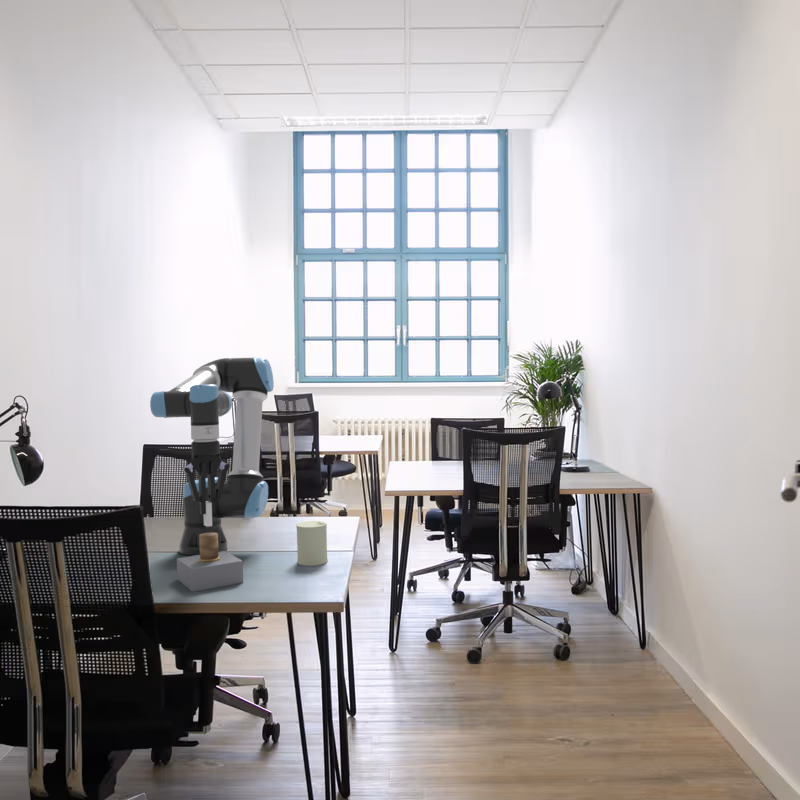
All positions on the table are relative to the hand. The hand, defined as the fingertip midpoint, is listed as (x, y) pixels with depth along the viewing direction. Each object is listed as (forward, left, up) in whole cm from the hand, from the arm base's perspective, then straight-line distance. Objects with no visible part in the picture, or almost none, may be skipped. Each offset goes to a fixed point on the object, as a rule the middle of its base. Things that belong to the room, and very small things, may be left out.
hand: (208, 525), depth 203 cm
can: (-32, -1, -16) cm, 36 cm away
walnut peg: (0, 0, -16) cm, 16 cm away
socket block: (0, 0, -16) cm, 16 cm away
